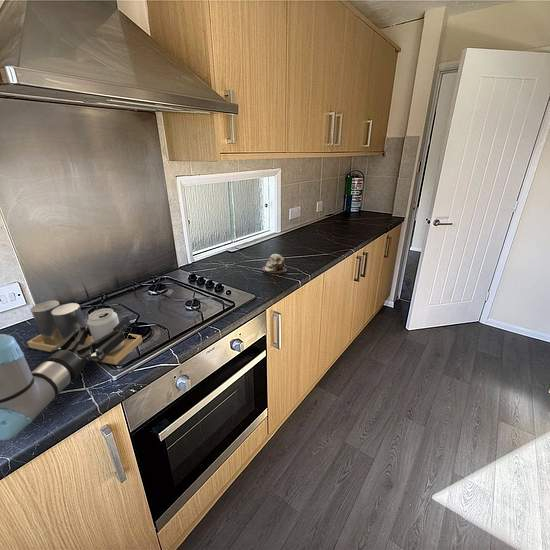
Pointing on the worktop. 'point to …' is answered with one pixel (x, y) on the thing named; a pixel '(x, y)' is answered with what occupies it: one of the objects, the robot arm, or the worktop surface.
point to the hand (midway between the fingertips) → (115, 320)
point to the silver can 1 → (46, 322)
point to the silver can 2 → (68, 320)
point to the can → (103, 324)
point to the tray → (109, 358)
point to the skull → (275, 264)
